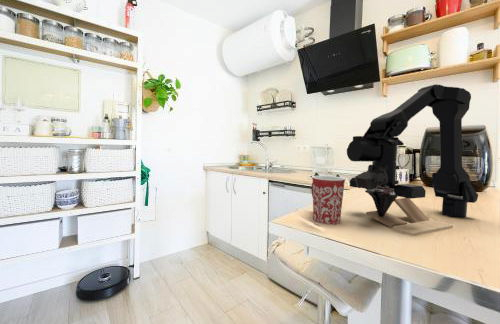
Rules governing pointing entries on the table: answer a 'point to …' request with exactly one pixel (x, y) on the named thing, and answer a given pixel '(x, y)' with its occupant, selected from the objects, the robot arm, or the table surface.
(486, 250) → the table surface
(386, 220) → the plank
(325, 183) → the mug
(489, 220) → the table surface
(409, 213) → the plank
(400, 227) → the underlay base
